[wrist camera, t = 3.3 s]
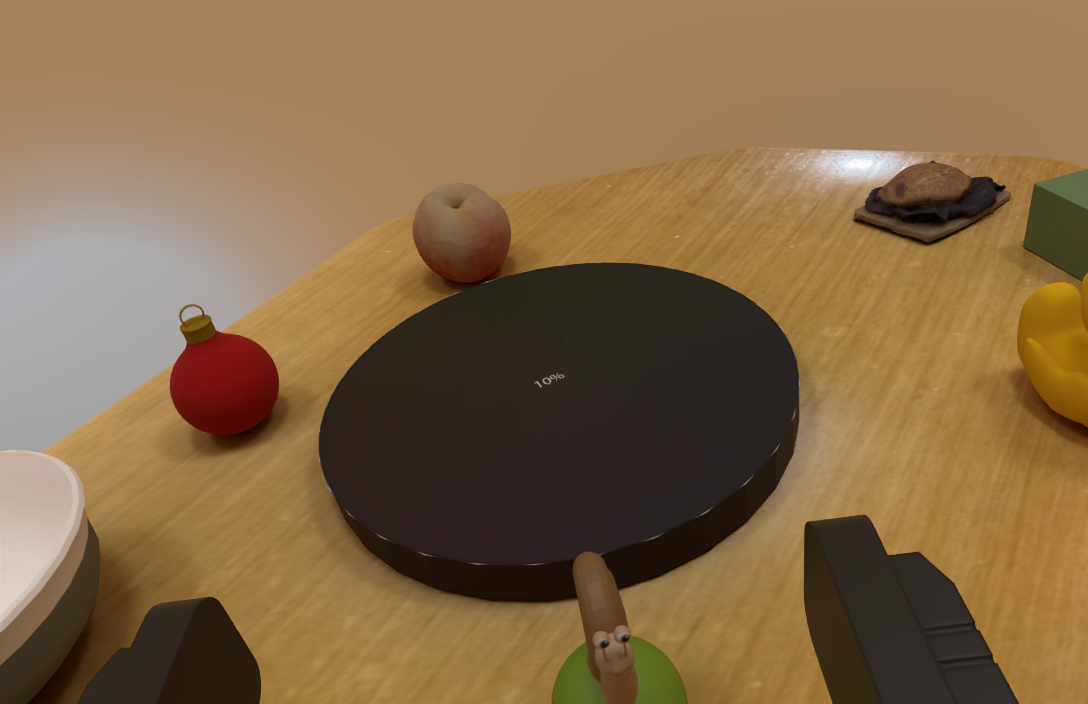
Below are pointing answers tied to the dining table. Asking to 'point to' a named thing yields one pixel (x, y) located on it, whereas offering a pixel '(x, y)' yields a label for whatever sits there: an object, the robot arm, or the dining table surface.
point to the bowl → (41, 570)
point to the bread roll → (931, 201)
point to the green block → (1060, 222)
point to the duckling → (1057, 347)
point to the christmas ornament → (222, 379)
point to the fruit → (461, 232)
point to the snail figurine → (612, 650)
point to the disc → (562, 428)
